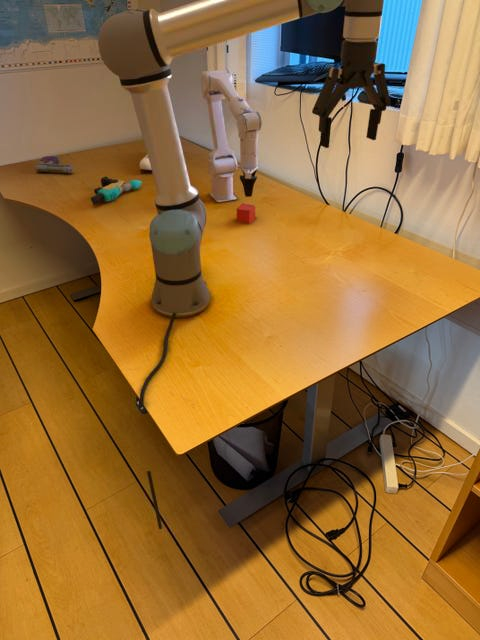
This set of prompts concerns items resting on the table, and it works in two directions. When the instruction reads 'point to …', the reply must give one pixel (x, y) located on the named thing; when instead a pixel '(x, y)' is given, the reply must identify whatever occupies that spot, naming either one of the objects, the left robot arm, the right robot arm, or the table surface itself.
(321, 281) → the table surface
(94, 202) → the toy gun
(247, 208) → the block
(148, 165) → the sneaker
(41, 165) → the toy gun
